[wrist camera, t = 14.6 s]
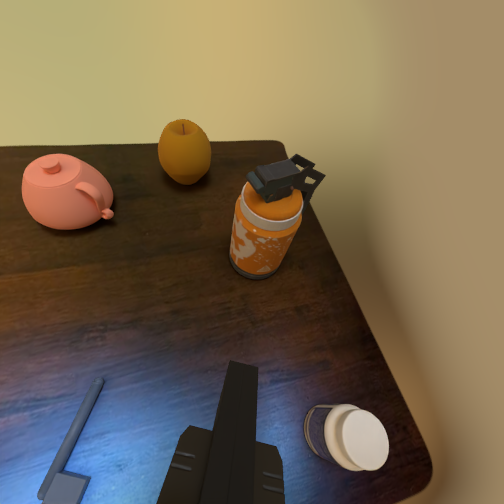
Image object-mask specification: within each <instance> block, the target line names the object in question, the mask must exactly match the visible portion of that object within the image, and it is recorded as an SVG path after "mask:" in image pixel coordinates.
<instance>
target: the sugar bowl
mask: <svg viewBox="0 0 504 504" xmlns="http://www.w3.org/2000/svg"><path fill="white" fill-rule="evenodd" d="M22 196H23V200H24V203H25V206H26V208H27V209H28V211H29V213H30V214H31V215H32V217H33V218H34V219H35V220H36V221H37V222H39V223H41V224H42V225H45V226H47V227H50V228H54V229H62V230H71V229H79V228H83V227H86V226H89V225H91V224H93V223H95V222H97V221H98V220H99V219H101V218H102V217H103V218H105V219H110V218H112V217H113V215H114V213H113V211H111V210H110V207H111V205H112V202H113V191H112V188H111V186H110V184H109V183H108V181H107V180H106V179H105V178H104V177H103V175H102V174H101V173H100V172H98V171H97V170H96V169H95V168H93V167H92V166H90V165H88V164H87V163H85V162H83V161H81V160H79V159H77V158H75V157H73V156H70V155H65V154H51V155H46V156H43V157H40V158H38V159H36V160H34V161H33V162H32V163H30V164H29V165H28V167H27V168H26V169H25V172H24V175H23V181H22Z"/></svg>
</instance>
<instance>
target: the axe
mask: <svg viewBox="0 0 504 504" xmlns="http://www.w3.org/2000/svg"><path fill="white" fill-rule="evenodd" d="M103 383H104V381H103V379H102V378H96V379H95V380H94V381H93V383H92V385H91V387H90V389H89V391H88V393H87V395H86V397H85V399H84V401H83V403H82V405H81V407H80V409H79V411H78V413H77V415H76V417H75V419H74V421H73V423H72V425H71V427H70V429H69V431H68V433H67V435H66V437H65V439H64V441H63V443H62V445H61V447H60V449H59V451H58V453H57V455H56V457H55V459H54V461H53V463H52V465H51V467H50V469H49V471H48V473H47V475H46V477H45V479H44V481H43V483H42V485H41V487H40V489H39V491H38V494H37V497H38V499H39V500H43V502H42V504H80V502H81V500H82V497H83V495H84V493H85V490H86V488H87V486H88V483H89V481H90V479H91V477H88V476H84V475H80V474H76V473H72V472H68V471H64V470H63V467H64V465H65V463H66V461H67V459H68V457H69V455H70V453H71V451H72V449H73V446H74V444H75V442H76V440H77V438H78V436H79V434H80V432H81V430H82V428H83V425H84V423H85V421H86V419H87V417H88V415H89V413H90V411H91V409H92V406H93V404H94V402H95V400H96V398H97V396H98V394H99V392H100V390H101V388H102V385H103Z"/></svg>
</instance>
